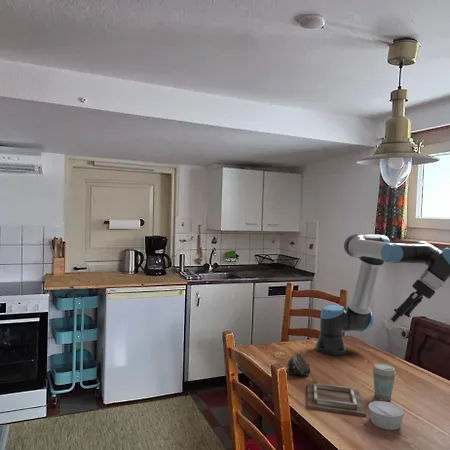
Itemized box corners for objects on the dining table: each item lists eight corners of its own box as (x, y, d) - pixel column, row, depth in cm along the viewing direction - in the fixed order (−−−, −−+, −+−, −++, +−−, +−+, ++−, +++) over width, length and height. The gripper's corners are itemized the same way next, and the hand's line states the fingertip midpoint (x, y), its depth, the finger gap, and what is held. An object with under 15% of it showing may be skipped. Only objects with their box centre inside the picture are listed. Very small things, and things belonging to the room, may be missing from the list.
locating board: (307, 385, 162) (307, 379, 162) (358, 392, 158) (358, 385, 158) (307, 408, 143) (307, 401, 143) (365, 416, 139) (365, 409, 139)
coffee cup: (372, 400, 151) (374, 369, 151) (369, 391, 160) (371, 361, 159) (396, 403, 149) (398, 372, 149) (392, 394, 158) (394, 364, 157)
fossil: (311, 378, 168) (301, 357, 169) (292, 386, 170) (281, 364, 171) (311, 368, 179) (301, 348, 179) (292, 375, 181) (283, 355, 181)
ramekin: (364, 425, 133) (364, 409, 133) (372, 412, 142) (372, 397, 142) (399, 436, 127) (400, 420, 127) (405, 422, 136) (406, 407, 136)
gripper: (433, 289, 136) (392, 335, 140) (438, 293, 156) (403, 332, 160) (414, 275, 140) (375, 320, 144) (422, 280, 160) (387, 319, 164)
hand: (390, 327), depth 152 cm, fingers open, 13 cm apart
